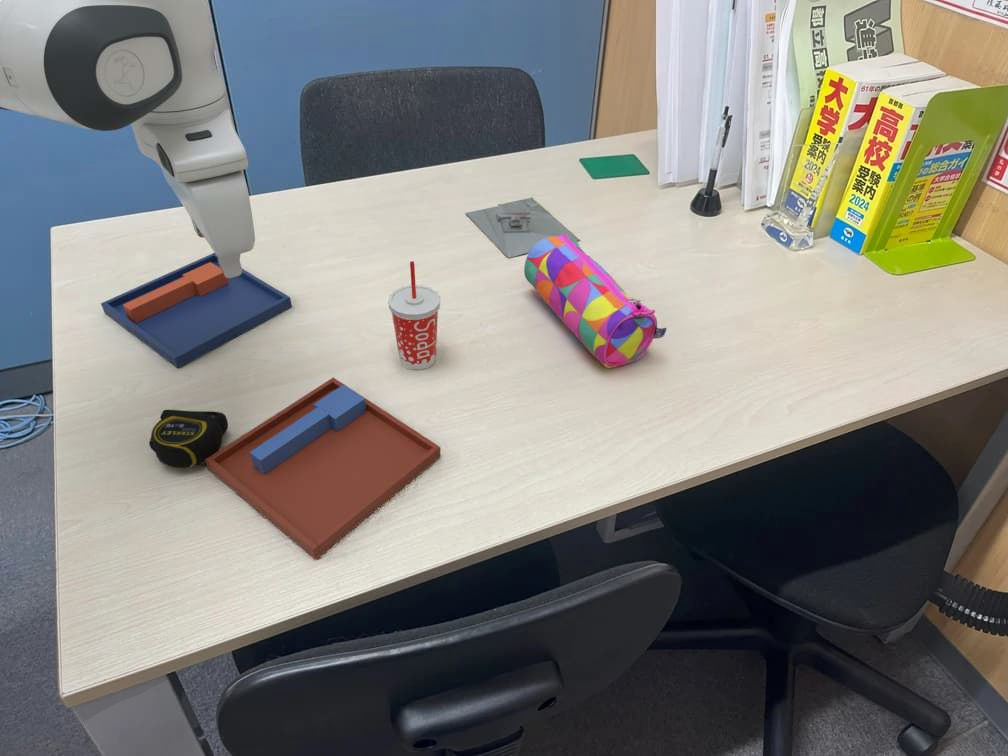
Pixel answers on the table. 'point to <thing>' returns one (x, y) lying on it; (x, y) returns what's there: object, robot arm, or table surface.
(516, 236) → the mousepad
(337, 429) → the blue stepped bar
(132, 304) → the rust stepped bar
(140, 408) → the table surface
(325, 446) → the rust tray
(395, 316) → the beverage cup
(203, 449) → the tape measure
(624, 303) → the pencil case
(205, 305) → the blue tray
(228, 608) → the table surface
